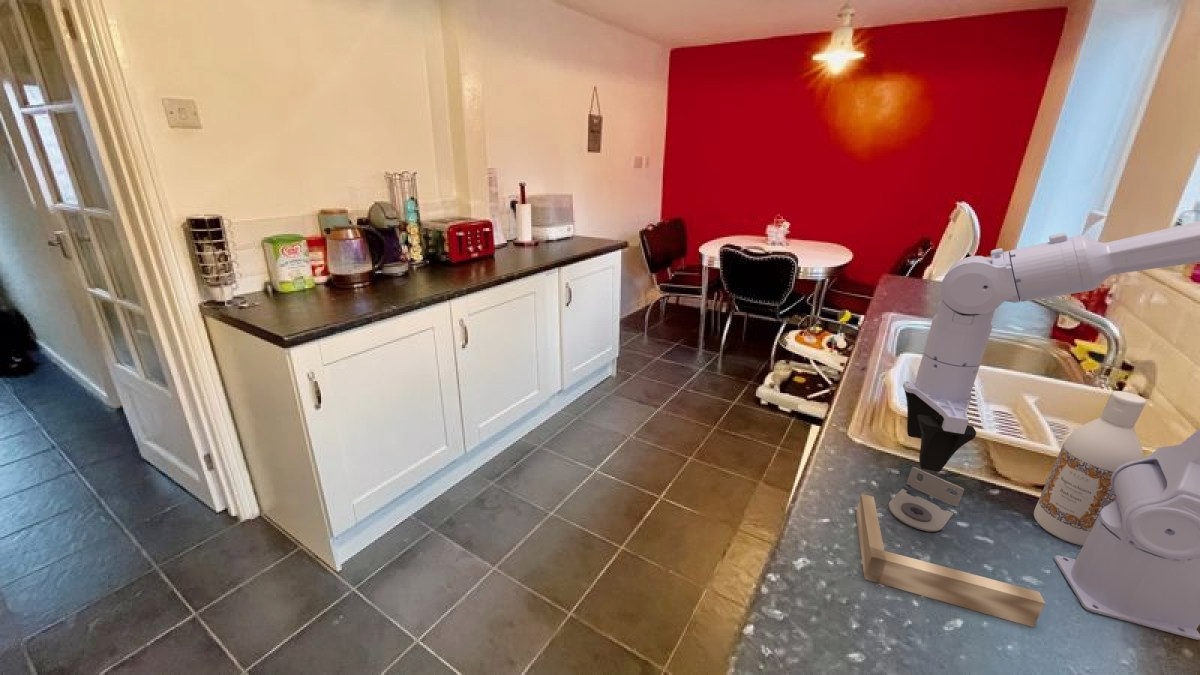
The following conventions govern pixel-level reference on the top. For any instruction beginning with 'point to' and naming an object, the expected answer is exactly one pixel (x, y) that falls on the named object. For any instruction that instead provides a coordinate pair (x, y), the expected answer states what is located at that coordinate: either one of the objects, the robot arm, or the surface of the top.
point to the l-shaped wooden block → (940, 577)
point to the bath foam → (1090, 469)
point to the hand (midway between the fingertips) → (922, 451)
